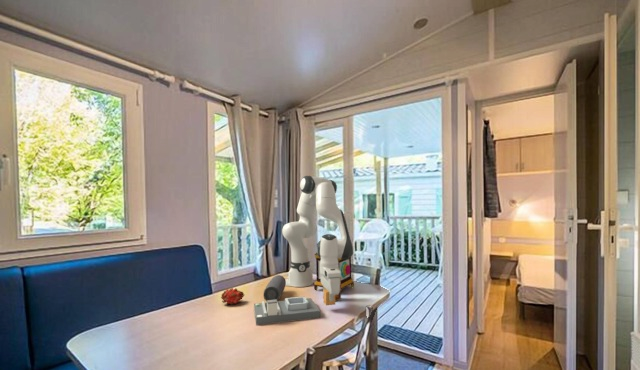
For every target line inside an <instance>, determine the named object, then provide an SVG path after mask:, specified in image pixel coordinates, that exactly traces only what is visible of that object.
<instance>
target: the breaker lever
mask: <svg viewBox="0 0 640 370" xmlns="http://www.w3.org/2000/svg"><path fill="white" fill-rule="evenodd" d="M277 301H278V300H276V299H275V300H267V301H266V303H267V314H268V316H271V315H277Z"/></svg>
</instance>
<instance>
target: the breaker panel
mask: <svg viewBox="0 0 640 370" xmlns="http://www.w3.org/2000/svg"><path fill="white" fill-rule="evenodd" d="M253 312H254V320H255V325H256V326H259V325H260V326H261V325H267V324H276V323H277V324H278V323H285V322H287V323H288V322H294V321H301V320H303V321H304V320H310V319H311V320H312V319H318V318H321V310H320V308H319V307H318V306H317V304H316V303H315V301H313V298H311V297H307V298H306V297H305V296H297V297H295V296H294V297H286V298H285V297H284V300H277V315H271V316H268V314H267V302H265V300H262V301H261V302H257V303H253Z"/></svg>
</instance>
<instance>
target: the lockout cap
mask: <svg viewBox="0 0 640 370" xmlns="http://www.w3.org/2000/svg"><path fill="white" fill-rule="evenodd" d="M329 295H330V294H329V291H328V290H327V289H324V299H323V303H324V305H325V306H333V305H336V301H335V295H334V297H333V301H330V300H329Z"/></svg>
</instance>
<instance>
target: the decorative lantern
mask: <svg viewBox="0 0 640 370" xmlns="http://www.w3.org/2000/svg"><path fill="white" fill-rule="evenodd" d="M314 257H315V261H316V264H315V267H316V268H315V270H316V271H315V272H316V280H315V283H314V285H313V286H314V287H313V289H314V291H315V290H316V291H318V287H320V288H323V285H322V284H321V273H320V260H321V258H320V257H319V256H317V252H316V253H315V254H314ZM338 266H339V270H340V271H341V291H342V290H343V289H345V288H347V287H348V286H350V288H352V287H353V288H354V286H355V283H354V280H353V278H352V256H351V257H350V258H349V259H338Z"/></svg>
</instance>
